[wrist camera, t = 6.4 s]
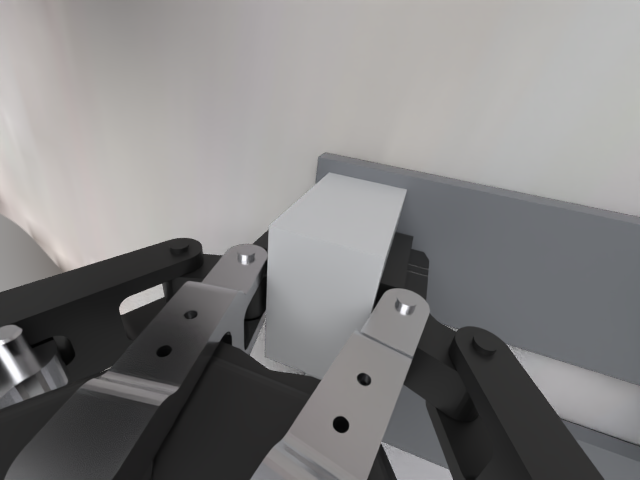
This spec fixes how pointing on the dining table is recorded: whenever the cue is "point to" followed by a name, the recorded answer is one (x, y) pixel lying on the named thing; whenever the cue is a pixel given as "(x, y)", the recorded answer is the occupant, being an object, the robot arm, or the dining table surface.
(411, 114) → the dining table surface
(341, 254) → the strip
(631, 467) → the strip
